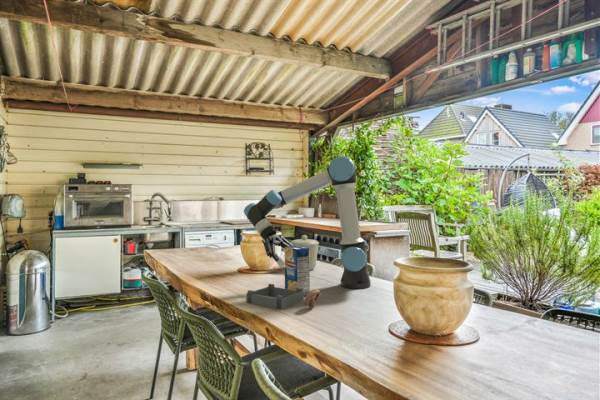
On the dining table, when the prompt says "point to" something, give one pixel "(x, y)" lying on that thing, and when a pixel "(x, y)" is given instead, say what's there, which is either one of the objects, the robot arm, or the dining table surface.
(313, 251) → the canister
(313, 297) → the mushroom
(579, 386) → the dining table surface
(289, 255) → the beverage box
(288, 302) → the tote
